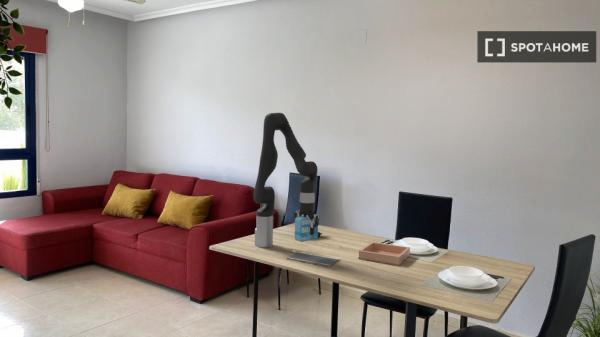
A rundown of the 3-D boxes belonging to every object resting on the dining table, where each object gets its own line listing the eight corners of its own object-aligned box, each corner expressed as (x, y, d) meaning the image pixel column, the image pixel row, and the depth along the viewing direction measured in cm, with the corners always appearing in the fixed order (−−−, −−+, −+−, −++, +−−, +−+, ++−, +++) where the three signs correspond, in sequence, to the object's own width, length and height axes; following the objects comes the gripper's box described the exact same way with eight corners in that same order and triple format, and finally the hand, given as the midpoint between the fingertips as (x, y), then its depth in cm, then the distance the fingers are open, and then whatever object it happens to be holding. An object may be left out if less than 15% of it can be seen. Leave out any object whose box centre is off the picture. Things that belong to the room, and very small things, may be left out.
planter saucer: (358, 259, 231) (358, 250, 231) (371, 249, 249) (371, 241, 248) (399, 265, 221) (399, 257, 221) (409, 255, 239) (410, 247, 238)
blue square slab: (300, 242, 224) (300, 218, 223) (294, 240, 227) (294, 217, 226) (318, 238, 232) (318, 215, 231) (312, 237, 235) (312, 214, 234)
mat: (286, 258, 229) (286, 257, 229) (298, 253, 240) (298, 251, 240) (329, 266, 218) (329, 265, 218) (339, 260, 228) (339, 259, 228)
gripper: (290, 200, 228) (290, 233, 229) (316, 203, 221) (315, 237, 223) (298, 198, 234) (297, 230, 236) (323, 201, 228) (322, 234, 229)
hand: (306, 233), depth 229 cm, fingers closed on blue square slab, 5 cm apart
